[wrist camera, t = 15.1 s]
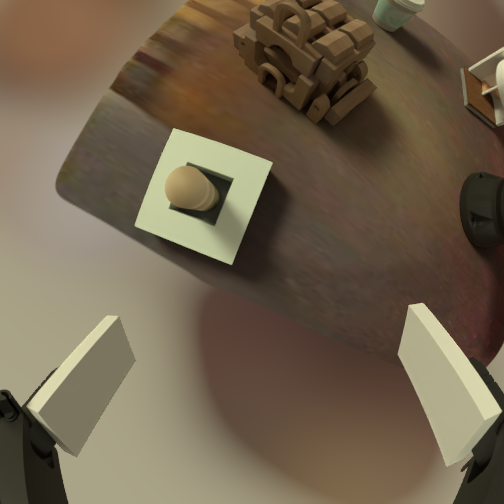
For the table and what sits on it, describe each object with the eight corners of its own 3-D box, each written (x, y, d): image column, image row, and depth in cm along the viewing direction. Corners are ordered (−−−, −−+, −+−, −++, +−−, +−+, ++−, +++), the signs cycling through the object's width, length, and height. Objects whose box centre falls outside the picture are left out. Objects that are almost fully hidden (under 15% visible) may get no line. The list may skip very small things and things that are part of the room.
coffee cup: (369, 28, 35) (392, -5, 23) (363, 5, 34) (382, -28, 22) (405, 41, 35) (432, 13, 23) (397, 16, 35) (420, -12, 23)
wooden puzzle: (373, 92, 37) (429, 38, 19) (320, 138, 38) (368, 83, 19) (281, 17, 35) (295, -53, 17) (222, 54, 36) (210, -23, 18)
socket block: (269, 170, 38) (272, 162, 33) (233, 259, 39) (231, 265, 34) (182, 139, 37) (173, 128, 32) (147, 225, 39) (134, 225, 34)
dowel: (219, 182, 38) (205, 164, 24) (220, 210, 38) (207, 206, 25) (191, 184, 38) (164, 168, 24) (192, 212, 38) (165, 209, 25)
